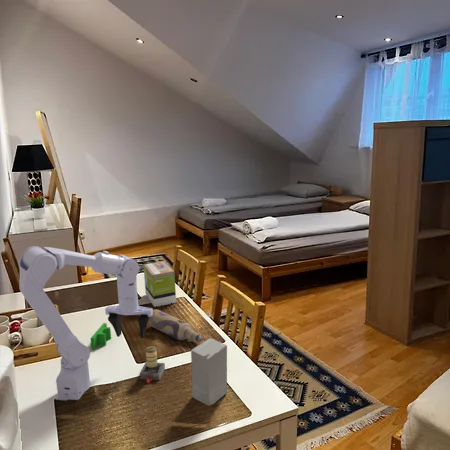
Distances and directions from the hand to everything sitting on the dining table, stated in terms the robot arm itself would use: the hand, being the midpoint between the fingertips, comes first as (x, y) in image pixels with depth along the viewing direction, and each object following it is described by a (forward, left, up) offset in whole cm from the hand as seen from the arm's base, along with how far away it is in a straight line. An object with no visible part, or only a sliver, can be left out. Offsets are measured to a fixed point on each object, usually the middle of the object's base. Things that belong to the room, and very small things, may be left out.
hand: (130, 335), depth 131 cm
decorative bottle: (+20, -8, -11) cm, 24 cm away
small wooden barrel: (-5, -8, -7) cm, 11 cm away
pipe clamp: (+14, +16, -11) cm, 23 cm away
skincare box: (-13, -27, -11) cm, 32 cm away
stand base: (-5, -8, -10) cm, 14 cm away
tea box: (+52, +5, -11) cm, 53 cm away
